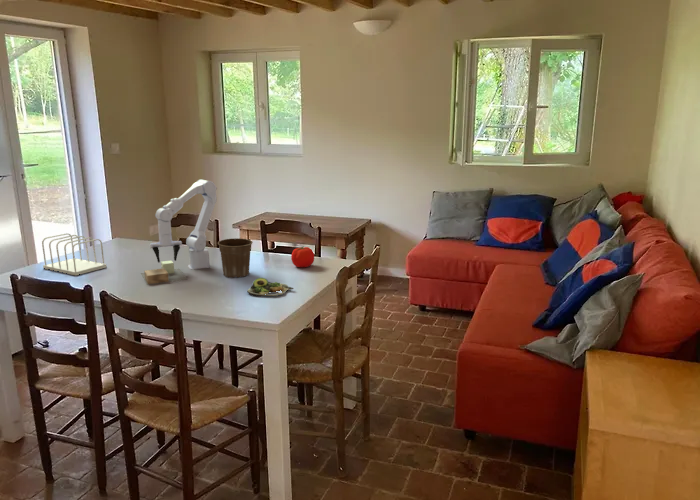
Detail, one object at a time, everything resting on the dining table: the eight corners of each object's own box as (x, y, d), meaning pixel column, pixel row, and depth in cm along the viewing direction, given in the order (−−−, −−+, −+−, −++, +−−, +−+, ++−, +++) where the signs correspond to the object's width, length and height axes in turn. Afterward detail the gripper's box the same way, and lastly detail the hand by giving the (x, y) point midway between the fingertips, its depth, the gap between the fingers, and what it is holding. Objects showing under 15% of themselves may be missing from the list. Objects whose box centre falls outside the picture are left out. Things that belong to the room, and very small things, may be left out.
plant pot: (260, 272, 270) (259, 240, 266) (239, 281, 256) (237, 247, 252) (234, 268, 278) (232, 236, 274) (212, 276, 264) (210, 243, 260)
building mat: (179, 269, 275) (179, 268, 274) (187, 280, 257) (187, 279, 257) (140, 274, 266) (140, 273, 266) (147, 285, 249) (146, 284, 249)
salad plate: (298, 286, 251) (298, 277, 249) (287, 299, 233) (287, 289, 232) (257, 284, 253) (256, 274, 252) (243, 296, 236) (243, 286, 235)
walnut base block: (165, 276, 262) (164, 268, 261) (168, 281, 254) (167, 273, 253) (145, 278, 258) (144, 270, 257) (147, 284, 250) (147, 275, 249)
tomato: (309, 262, 289) (309, 243, 286) (317, 268, 279) (317, 248, 276) (287, 265, 284) (287, 245, 281) (295, 270, 274) (295, 250, 271)
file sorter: (107, 267, 277) (103, 237, 273) (75, 276, 262) (71, 244, 258) (74, 261, 289) (71, 231, 285) (43, 269, 274) (38, 238, 270)
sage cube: (172, 270, 272) (171, 260, 270) (174, 272, 267) (173, 262, 266) (161, 271, 269) (161, 261, 268) (163, 274, 265) (162, 264, 264)
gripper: (179, 230, 270) (180, 257, 274) (147, 233, 264) (149, 260, 267) (181, 233, 264) (183, 260, 268) (150, 236, 258) (152, 264, 261)
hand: (167, 261), depth 267 cm, fingers open, 7 cm apart
